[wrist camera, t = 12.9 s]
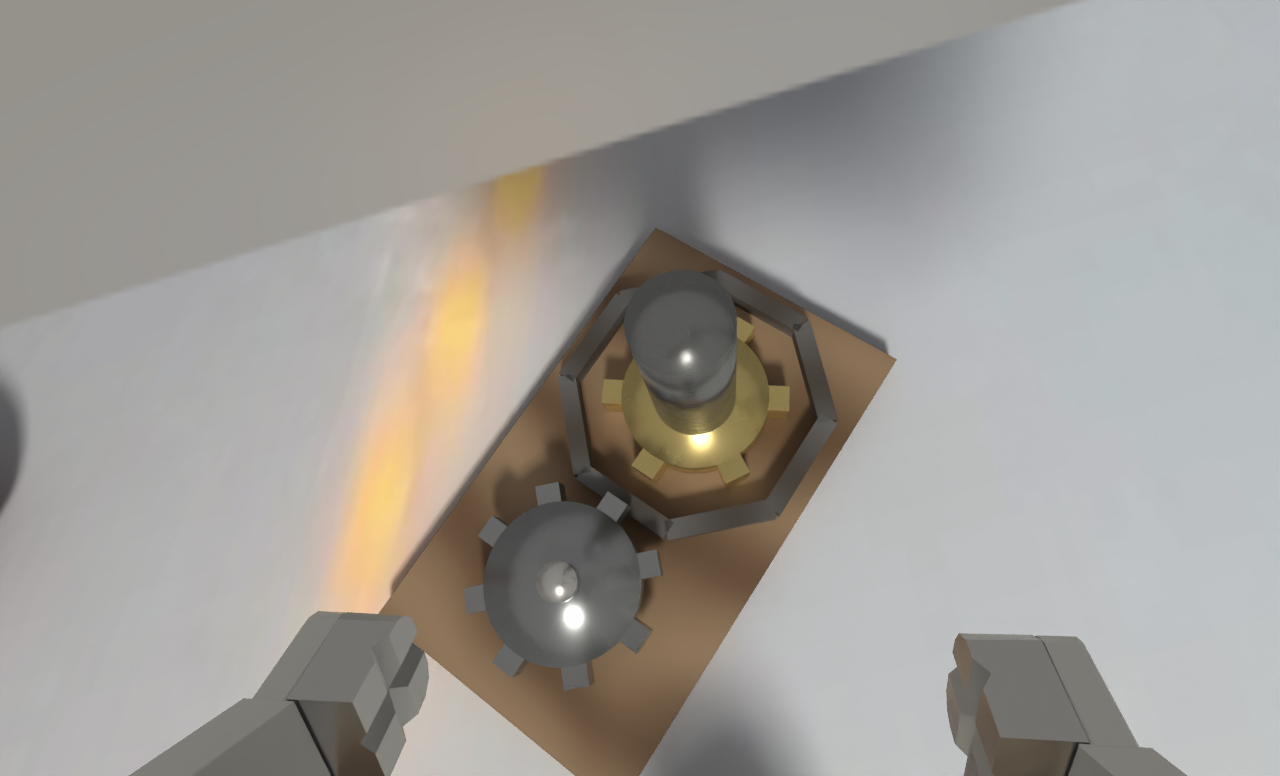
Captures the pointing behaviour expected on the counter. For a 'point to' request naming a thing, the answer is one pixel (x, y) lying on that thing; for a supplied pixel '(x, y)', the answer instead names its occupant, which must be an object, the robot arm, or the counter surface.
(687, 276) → the gear
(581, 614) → the gear
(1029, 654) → the robot arm
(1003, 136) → the counter surface
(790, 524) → the gear board
